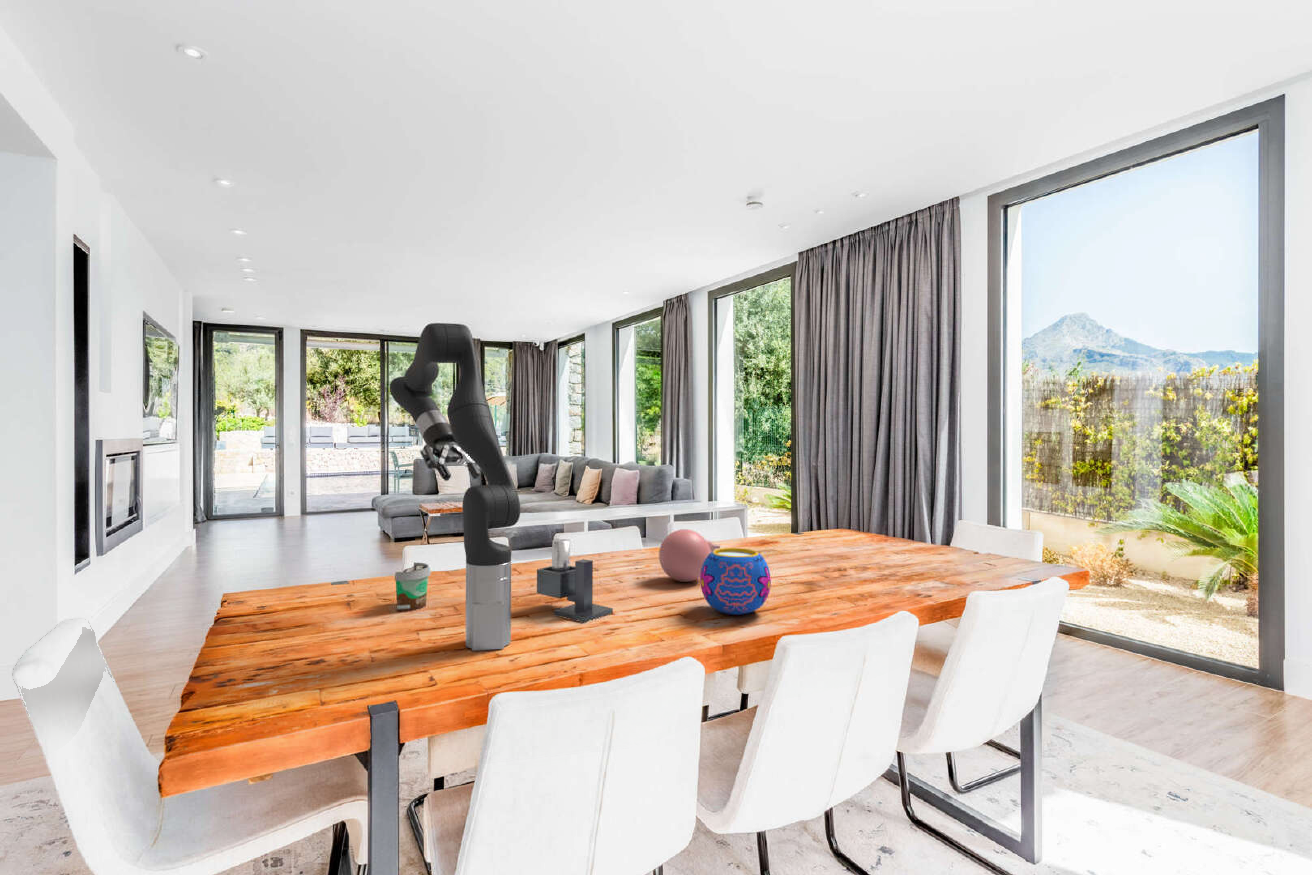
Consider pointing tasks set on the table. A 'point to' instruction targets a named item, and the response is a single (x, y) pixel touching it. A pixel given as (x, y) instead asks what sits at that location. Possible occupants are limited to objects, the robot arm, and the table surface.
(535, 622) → the table surface
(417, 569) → the food container
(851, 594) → the table surface
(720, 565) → the ceramic pot
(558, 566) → the silver metal cylinder
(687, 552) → the balloon
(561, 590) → the cup bracket
